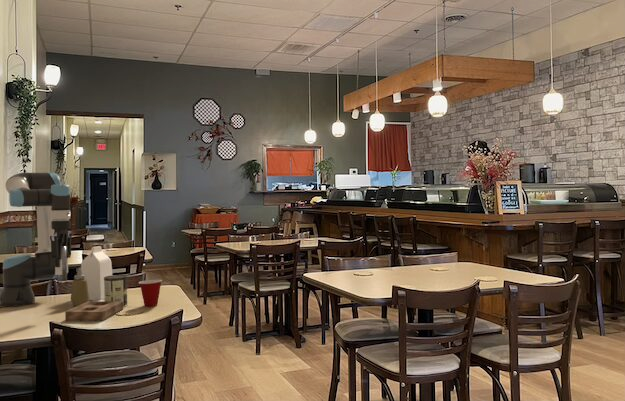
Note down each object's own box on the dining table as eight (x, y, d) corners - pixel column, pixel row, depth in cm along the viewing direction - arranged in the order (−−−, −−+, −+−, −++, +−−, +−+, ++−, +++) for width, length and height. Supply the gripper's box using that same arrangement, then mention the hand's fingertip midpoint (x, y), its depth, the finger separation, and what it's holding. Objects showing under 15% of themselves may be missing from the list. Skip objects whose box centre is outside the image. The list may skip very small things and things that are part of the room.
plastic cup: (151, 302, 249) (151, 277, 249) (167, 304, 244) (167, 279, 244) (133, 306, 240) (133, 281, 240) (149, 309, 234) (149, 283, 234)
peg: (54, 281, 220) (54, 246, 219) (60, 279, 224) (59, 245, 223) (63, 281, 219) (63, 246, 219) (68, 280, 223) (68, 245, 223)
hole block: (65, 321, 213) (65, 311, 213) (89, 309, 233) (88, 301, 233) (102, 321, 212) (102, 311, 212) (123, 310, 232) (122, 301, 232)
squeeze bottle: (82, 307, 238) (81, 269, 238) (66, 306, 240) (66, 268, 239) (92, 303, 246) (92, 266, 246) (78, 303, 248) (77, 266, 247)
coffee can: (117, 303, 248) (117, 274, 248) (132, 305, 243) (131, 275, 242) (99, 307, 239) (99, 277, 239) (113, 309, 234) (113, 279, 234)
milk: (100, 299, 255) (100, 248, 255) (79, 299, 257) (79, 247, 256) (113, 295, 267) (113, 245, 266) (93, 294, 269) (93, 245, 268)
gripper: (58, 221, 212) (59, 277, 213) (79, 219, 229) (80, 270, 230) (41, 221, 213) (41, 277, 213) (63, 219, 230) (64, 270, 230)
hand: (61, 273), depth 221 cm, fingers closed on peg, 4 cm apart
